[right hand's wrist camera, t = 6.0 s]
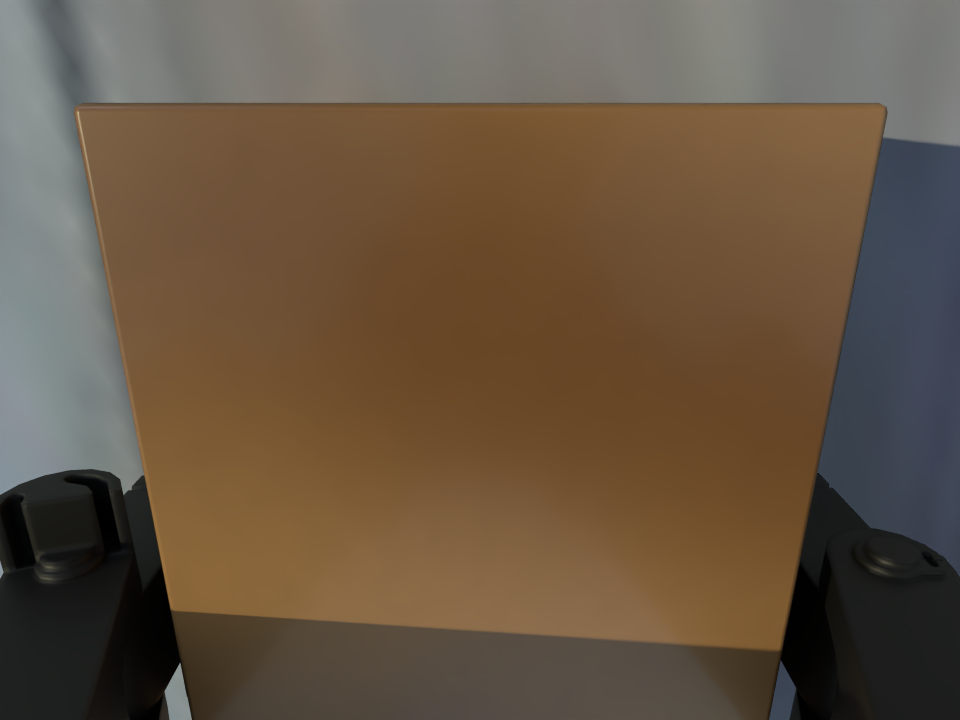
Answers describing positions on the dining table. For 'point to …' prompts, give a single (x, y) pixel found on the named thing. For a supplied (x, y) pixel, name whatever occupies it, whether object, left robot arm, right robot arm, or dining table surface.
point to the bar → (480, 393)
